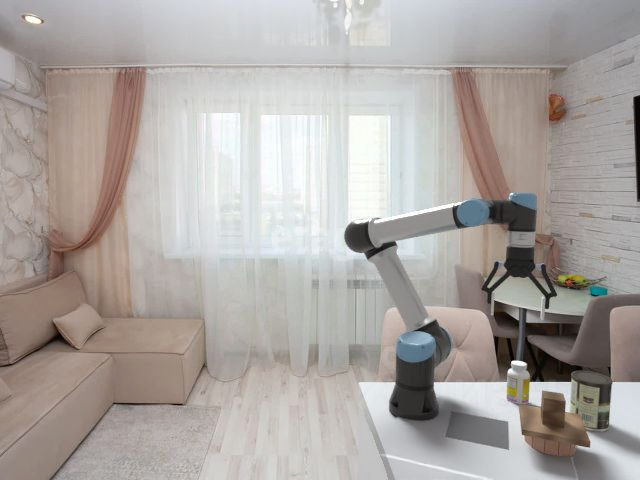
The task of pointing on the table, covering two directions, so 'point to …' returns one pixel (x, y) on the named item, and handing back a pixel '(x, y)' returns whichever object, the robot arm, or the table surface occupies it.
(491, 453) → the table surface
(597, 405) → the coffee can
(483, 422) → the rubber mat
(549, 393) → the walnut lid
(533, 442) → the terracotta bowl
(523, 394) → the supplement bottle
